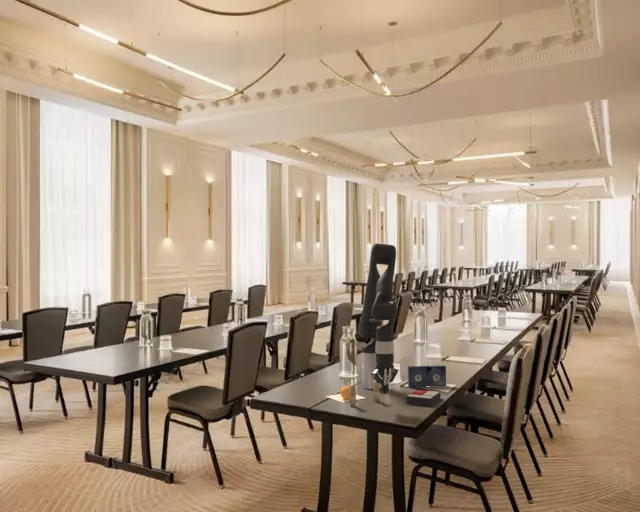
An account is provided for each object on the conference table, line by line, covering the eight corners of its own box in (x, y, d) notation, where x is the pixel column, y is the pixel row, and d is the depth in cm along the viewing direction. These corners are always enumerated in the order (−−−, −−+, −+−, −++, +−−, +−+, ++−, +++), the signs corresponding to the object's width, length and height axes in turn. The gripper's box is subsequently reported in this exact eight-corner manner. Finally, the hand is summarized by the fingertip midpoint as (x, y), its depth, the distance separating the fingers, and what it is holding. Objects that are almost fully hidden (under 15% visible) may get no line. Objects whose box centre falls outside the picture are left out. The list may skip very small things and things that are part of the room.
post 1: (348, 406, 240) (348, 385, 240) (353, 405, 241) (353, 384, 241) (352, 407, 238) (351, 386, 238) (357, 406, 239) (356, 385, 239)
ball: (347, 391, 247) (345, 403, 248) (357, 388, 251) (355, 400, 252) (339, 384, 251) (336, 396, 253) (348, 382, 255) (346, 393, 257)
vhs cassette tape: (445, 385, 275) (444, 365, 275) (446, 387, 272) (446, 366, 272) (407, 386, 275) (407, 366, 275) (408, 388, 272) (408, 367, 272)
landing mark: (325, 396, 257) (325, 396, 257) (348, 392, 264) (348, 392, 264) (342, 402, 246) (342, 402, 246) (365, 398, 253) (365, 397, 253)
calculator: (440, 391, 250) (431, 397, 237) (440, 401, 250) (431, 407, 237) (416, 388, 255) (406, 394, 242) (416, 398, 255) (406, 404, 242)
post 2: (372, 401, 247) (372, 380, 247) (377, 400, 249) (376, 380, 249) (376, 402, 245) (376, 382, 245) (380, 401, 247) (380, 381, 247)
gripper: (390, 348, 238) (391, 389, 239) (366, 351, 231) (366, 393, 231) (402, 350, 232) (403, 392, 232) (378, 354, 225) (378, 397, 225)
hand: (385, 393), depth 232 cm, fingers closed
